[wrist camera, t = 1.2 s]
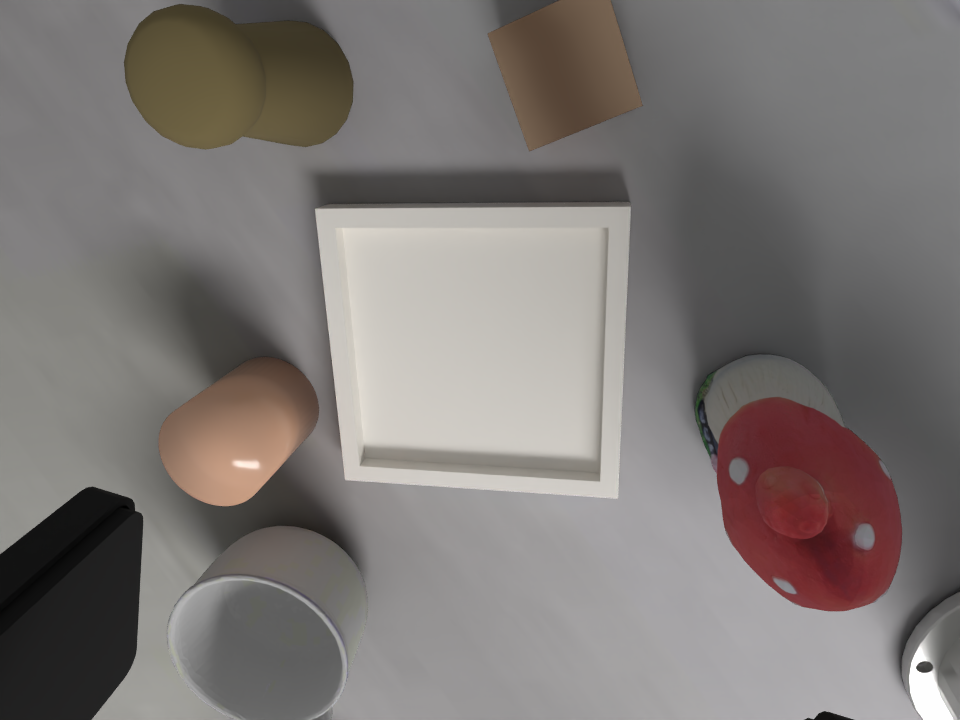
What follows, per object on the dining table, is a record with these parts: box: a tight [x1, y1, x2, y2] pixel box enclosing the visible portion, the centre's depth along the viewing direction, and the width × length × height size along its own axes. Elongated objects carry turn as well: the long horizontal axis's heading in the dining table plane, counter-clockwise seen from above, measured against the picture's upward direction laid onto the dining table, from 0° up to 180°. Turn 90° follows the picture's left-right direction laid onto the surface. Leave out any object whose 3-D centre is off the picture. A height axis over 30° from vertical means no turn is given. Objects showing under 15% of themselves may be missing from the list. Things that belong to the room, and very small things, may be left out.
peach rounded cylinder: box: [159, 357, 319, 506], centre depth 39 cm, size 6×6×7 cm
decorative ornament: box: [695, 354, 902, 611], centre depth 30 cm, size 9×7×15 cm
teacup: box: [167, 526, 368, 720], centre depth 43 cm, size 14×11×8 cm
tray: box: [315, 202, 631, 499], centre depth 38 cm, size 16×16×2 cm
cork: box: [124, 4, 353, 149], centre depth 30 cm, size 6×6×11 cm
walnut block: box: [488, 0, 643, 151], centre depth 31 cm, size 5×5×5 cm
